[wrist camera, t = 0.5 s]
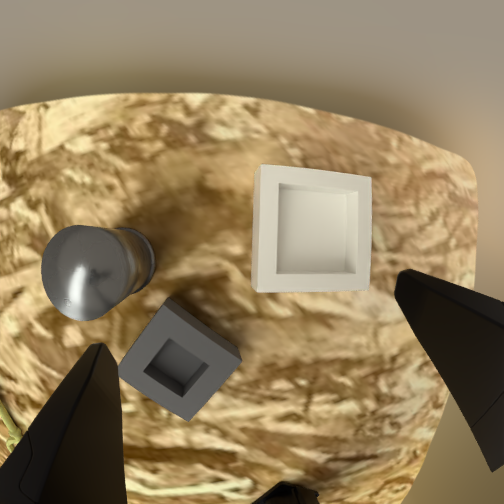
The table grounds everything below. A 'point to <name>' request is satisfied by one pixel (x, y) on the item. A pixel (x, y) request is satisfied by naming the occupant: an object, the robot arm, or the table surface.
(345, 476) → the table surface
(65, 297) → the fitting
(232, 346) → the block
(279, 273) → the tray
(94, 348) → the robot arm
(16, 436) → the key
